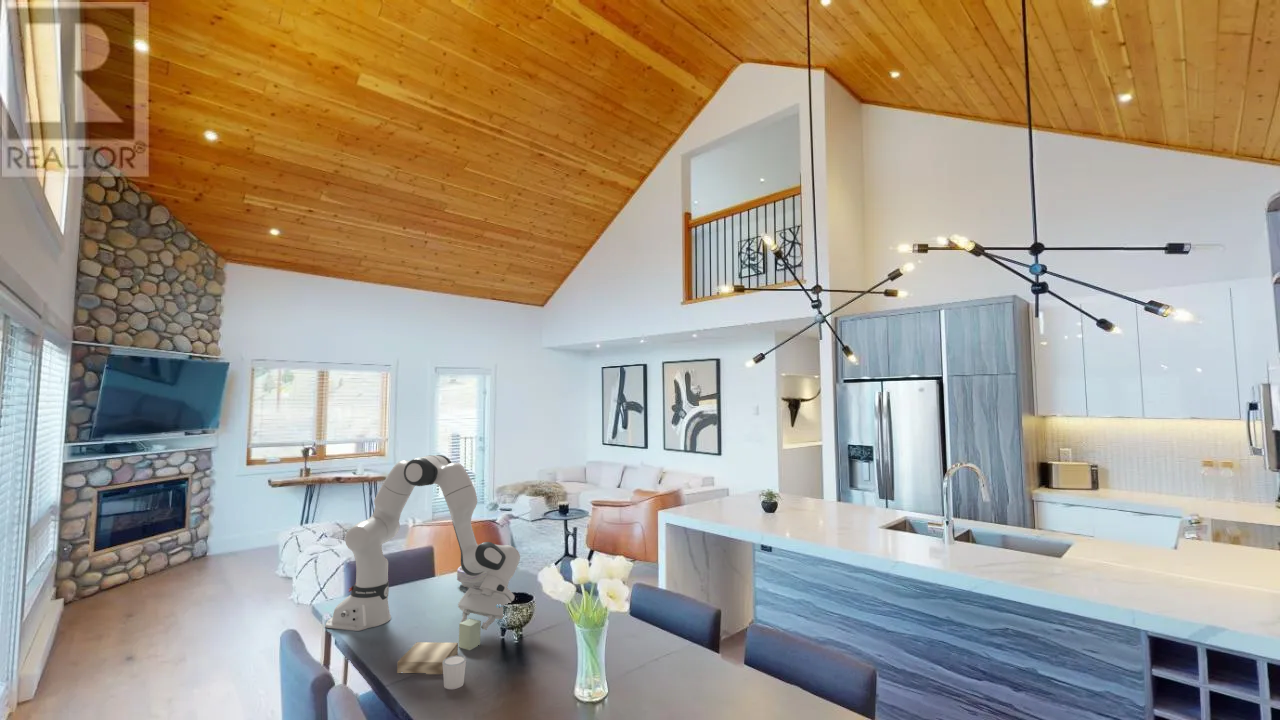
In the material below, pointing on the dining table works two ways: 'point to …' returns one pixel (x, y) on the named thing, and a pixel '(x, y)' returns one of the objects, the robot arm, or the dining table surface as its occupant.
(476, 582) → the light grey bowl
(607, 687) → the dining table surface
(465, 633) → the sage block
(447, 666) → the shot glass
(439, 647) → the block
